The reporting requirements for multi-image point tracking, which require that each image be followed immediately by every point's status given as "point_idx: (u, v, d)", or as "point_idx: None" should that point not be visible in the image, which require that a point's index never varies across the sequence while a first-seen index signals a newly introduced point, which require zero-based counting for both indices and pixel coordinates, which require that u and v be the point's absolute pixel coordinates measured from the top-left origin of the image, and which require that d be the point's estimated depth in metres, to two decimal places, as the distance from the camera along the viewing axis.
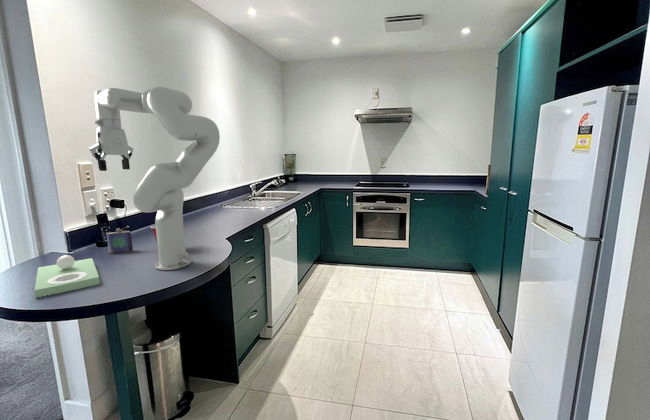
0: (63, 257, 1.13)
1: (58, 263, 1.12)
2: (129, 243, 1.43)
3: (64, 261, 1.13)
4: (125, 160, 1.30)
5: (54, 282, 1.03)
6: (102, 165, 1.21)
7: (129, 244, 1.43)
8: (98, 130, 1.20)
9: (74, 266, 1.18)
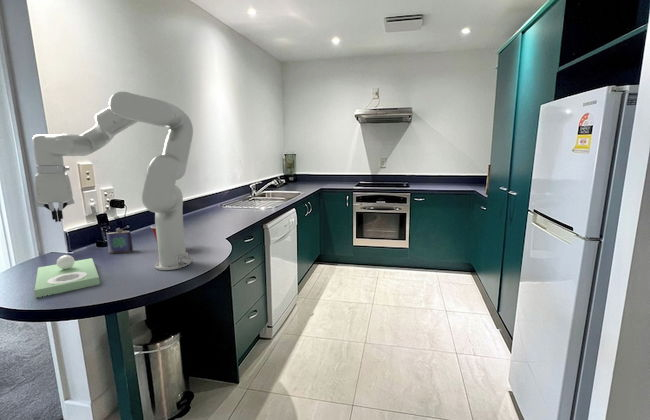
0: (63, 257, 1.13)
1: (58, 263, 1.12)
2: (129, 243, 1.43)
3: (64, 261, 1.13)
4: (56, 211, 1.18)
5: (54, 282, 1.03)
6: None
7: (129, 244, 1.43)
8: (68, 176, 1.18)
9: (74, 266, 1.18)
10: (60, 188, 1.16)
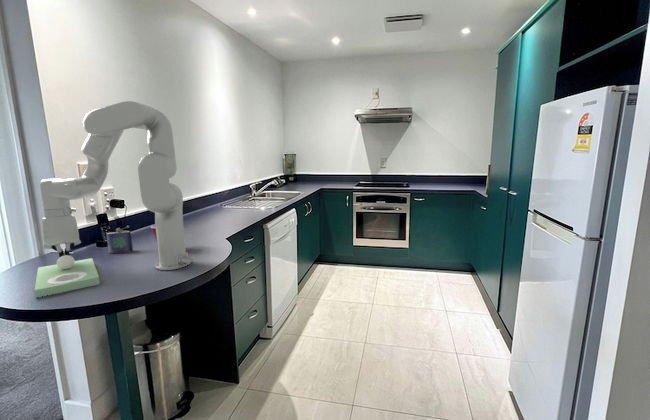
0: (63, 257, 1.13)
1: (58, 263, 1.12)
2: (129, 243, 1.43)
3: (64, 261, 1.13)
4: None
5: (54, 282, 1.03)
6: None
7: (129, 244, 1.43)
8: (74, 217, 1.21)
9: (74, 266, 1.18)
10: (67, 230, 1.18)
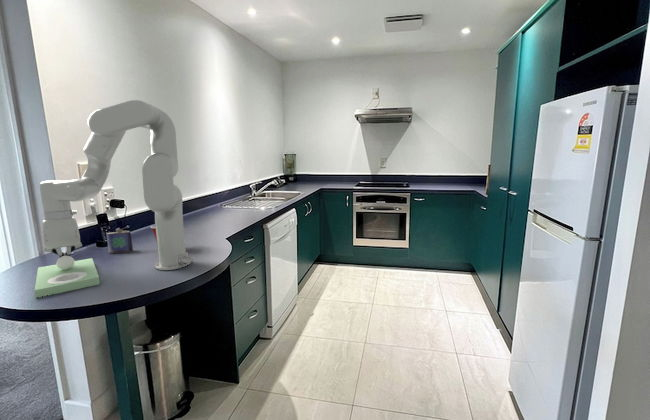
0: (63, 259, 1.12)
1: (58, 265, 1.12)
2: (129, 243, 1.43)
3: (64, 263, 1.12)
4: (64, 255, 1.17)
5: (54, 282, 1.03)
6: None
7: (129, 244, 1.43)
8: (75, 220, 1.18)
9: (74, 266, 1.18)
10: (68, 233, 1.15)
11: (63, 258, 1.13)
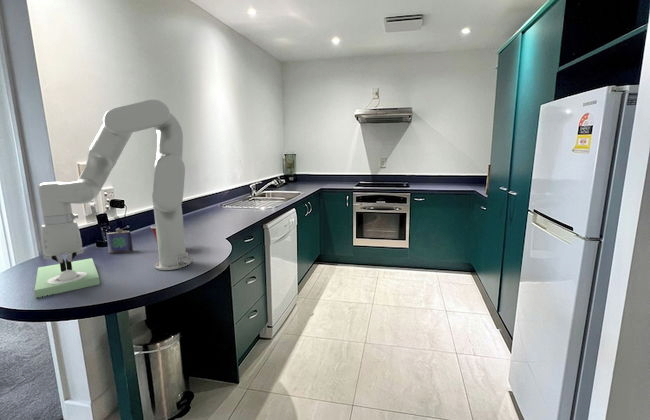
0: None
1: None
2: (129, 243, 1.43)
3: None
4: (64, 262, 1.10)
5: (54, 282, 1.03)
6: None
7: (129, 244, 1.43)
8: None
9: (74, 266, 1.18)
10: (69, 239, 1.07)
11: None
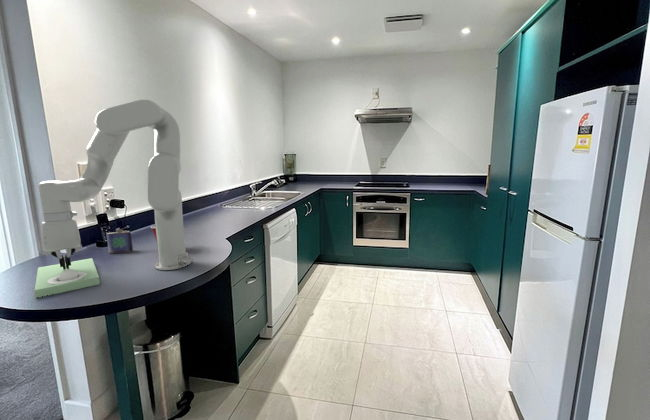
0: None
1: None
2: (129, 243, 1.43)
3: None
4: (63, 258, 1.14)
5: (54, 282, 1.03)
6: None
7: (129, 244, 1.43)
8: (75, 221, 1.14)
9: (74, 266, 1.18)
10: (68, 235, 1.12)
11: None
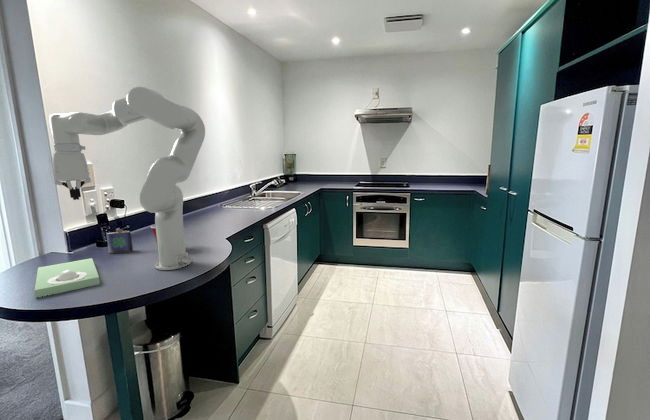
0: None
1: None
2: (129, 243, 1.43)
3: None
4: None
5: (54, 282, 1.03)
6: None
7: (129, 244, 1.43)
8: None
9: (74, 266, 1.18)
10: (78, 167, 1.19)
11: None
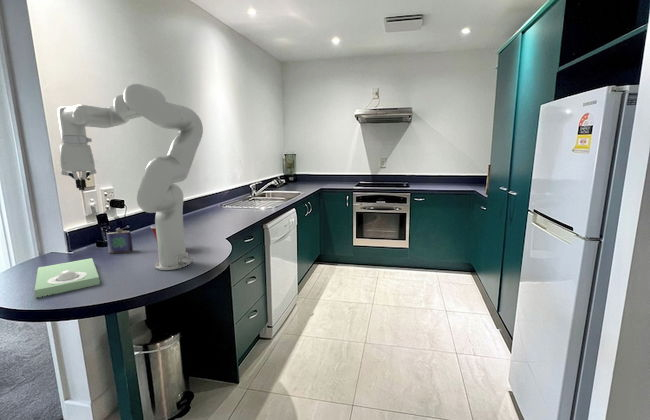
0: None
1: (59, 274, 1.06)
2: (129, 243, 1.43)
3: None
4: (79, 180, 1.25)
5: (54, 282, 1.03)
6: None
7: (129, 244, 1.43)
8: (90, 147, 1.25)
9: (74, 266, 1.18)
10: (84, 158, 1.22)
11: None
